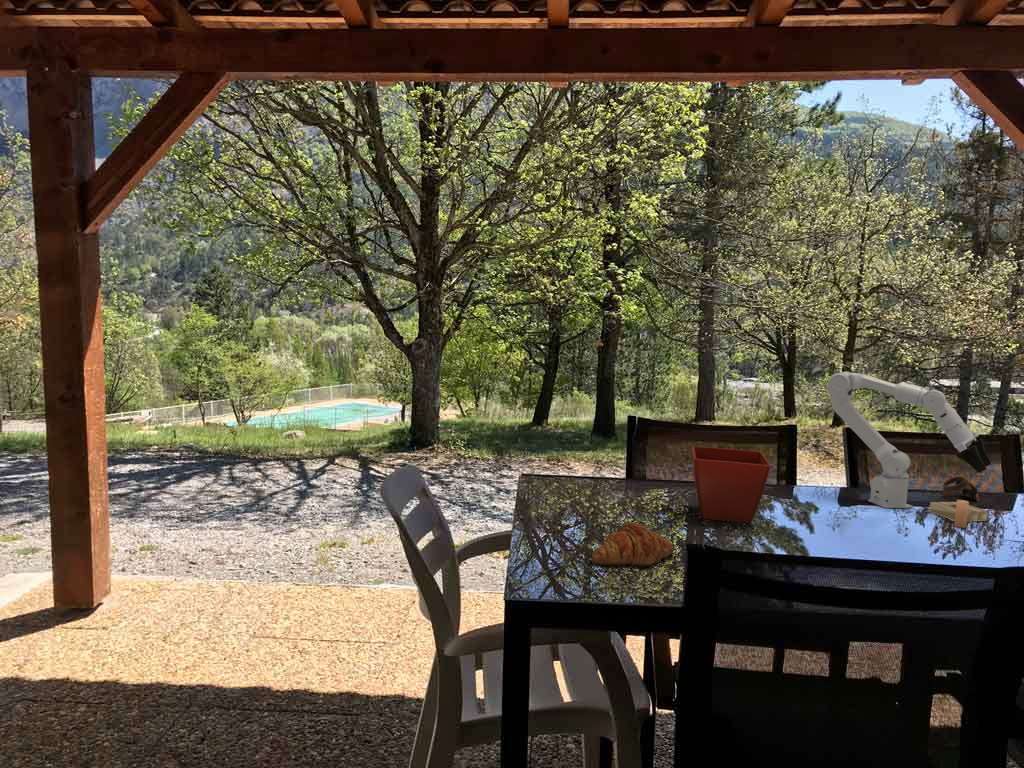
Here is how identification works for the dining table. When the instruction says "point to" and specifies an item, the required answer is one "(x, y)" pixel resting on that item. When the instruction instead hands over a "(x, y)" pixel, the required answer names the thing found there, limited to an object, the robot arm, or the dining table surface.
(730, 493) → the plant pot
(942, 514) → the bore block
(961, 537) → the dining table surface
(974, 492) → the pottery mug
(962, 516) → the pin
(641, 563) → the pastry
